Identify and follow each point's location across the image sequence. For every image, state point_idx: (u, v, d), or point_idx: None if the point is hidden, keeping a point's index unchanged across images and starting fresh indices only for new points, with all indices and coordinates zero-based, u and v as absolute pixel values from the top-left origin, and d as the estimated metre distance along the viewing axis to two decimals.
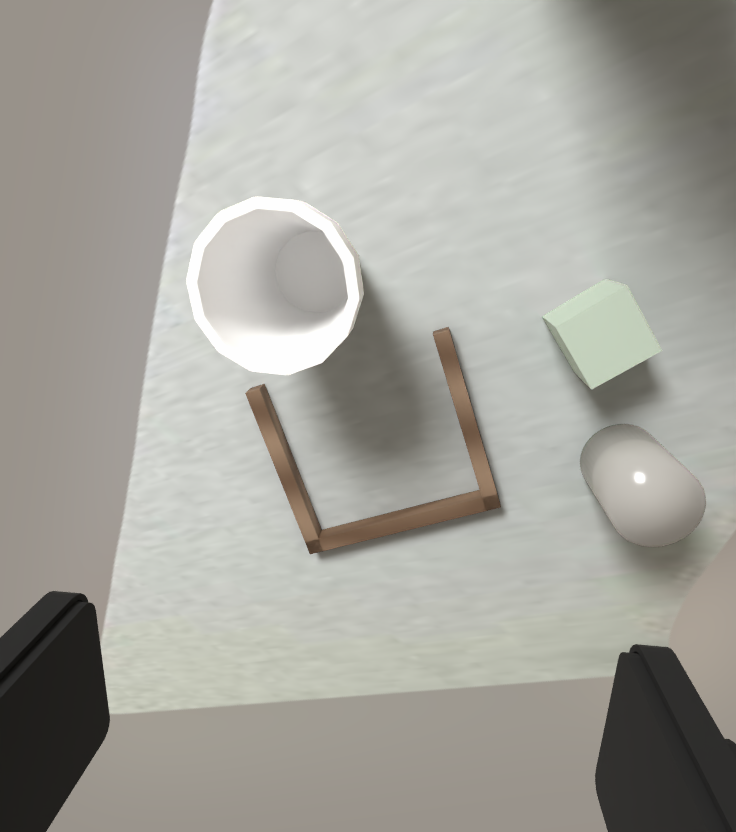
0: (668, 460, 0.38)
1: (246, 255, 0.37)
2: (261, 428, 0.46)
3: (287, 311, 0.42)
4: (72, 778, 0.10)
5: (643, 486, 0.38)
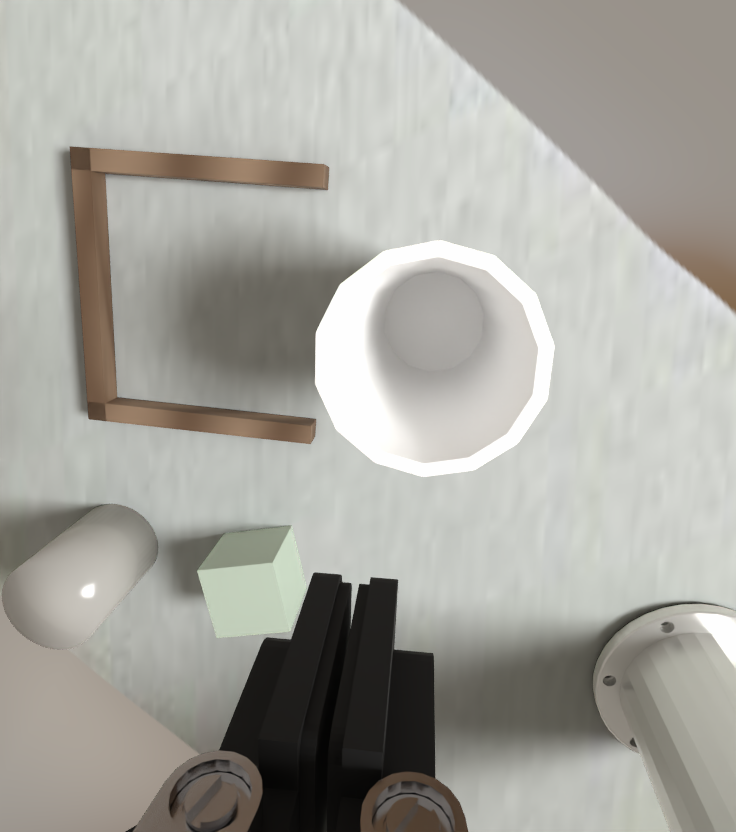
0: (99, 625, 0.36)
1: (488, 292, 0.28)
2: (269, 163, 0.32)
3: (403, 280, 0.32)
4: None
5: (74, 603, 0.35)
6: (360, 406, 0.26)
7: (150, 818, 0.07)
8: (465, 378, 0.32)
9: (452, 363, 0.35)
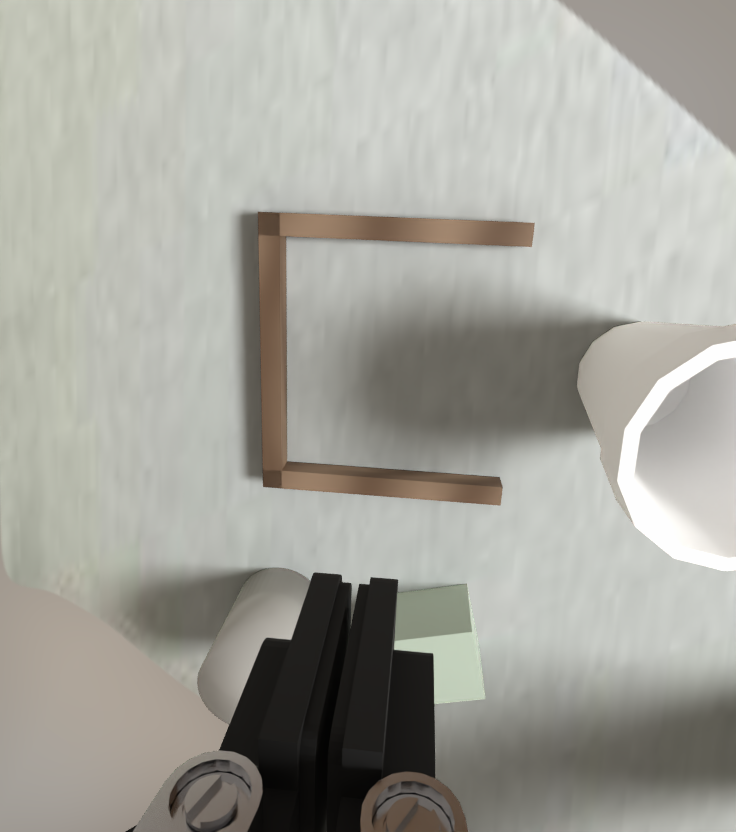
0: None
1: None
2: (474, 223, 0.31)
3: None
4: None
5: None
6: None
7: (150, 818, 0.07)
8: (688, 440, 0.31)
9: (654, 419, 0.34)
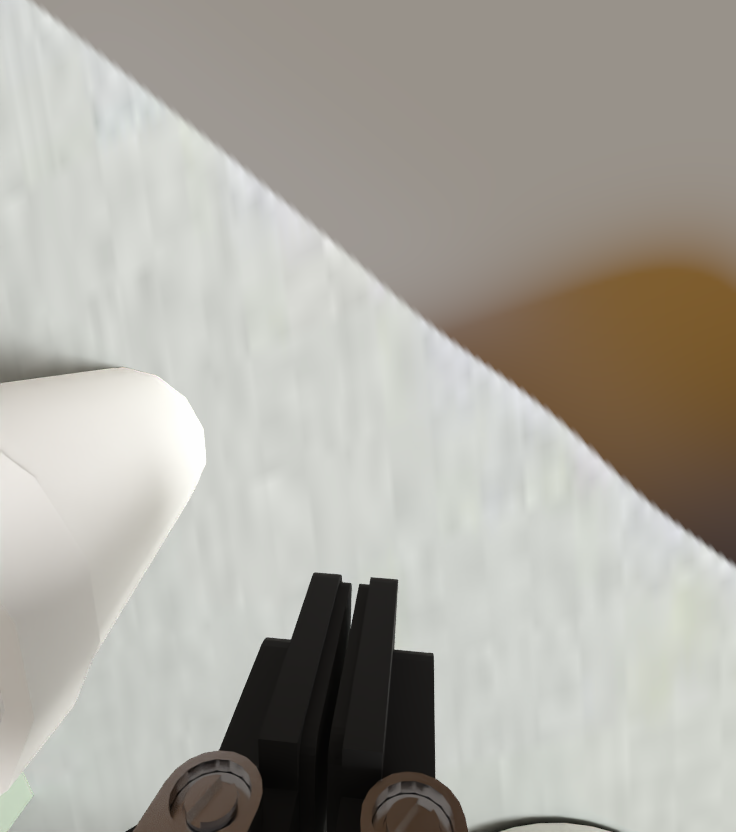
0: None
1: None
2: None
3: None
4: None
5: None
6: None
7: (150, 818, 0.07)
8: None
9: None
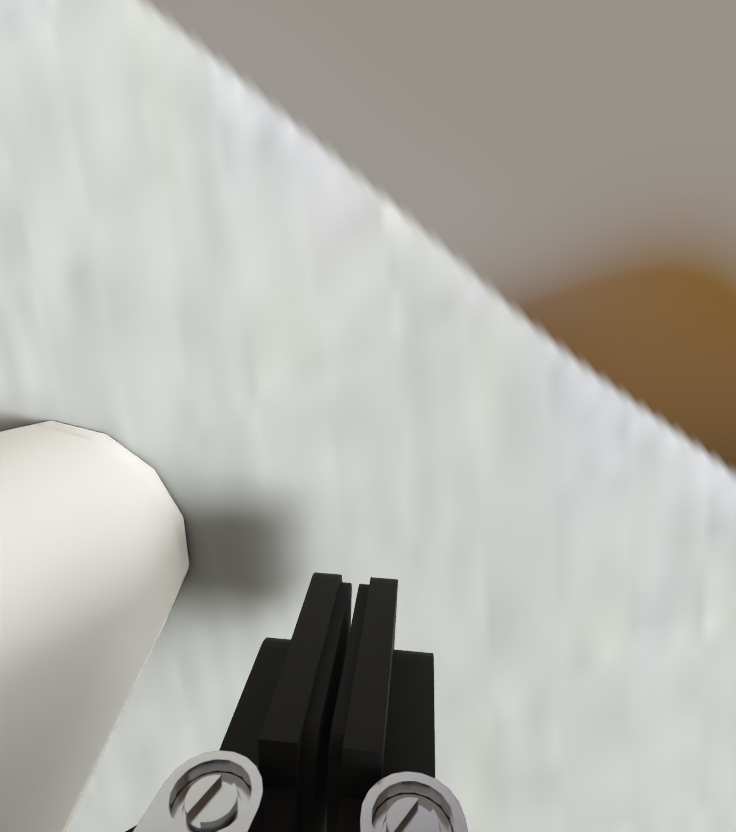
0: None
1: None
2: None
3: None
4: None
5: None
6: None
7: (150, 818, 0.07)
8: None
9: None
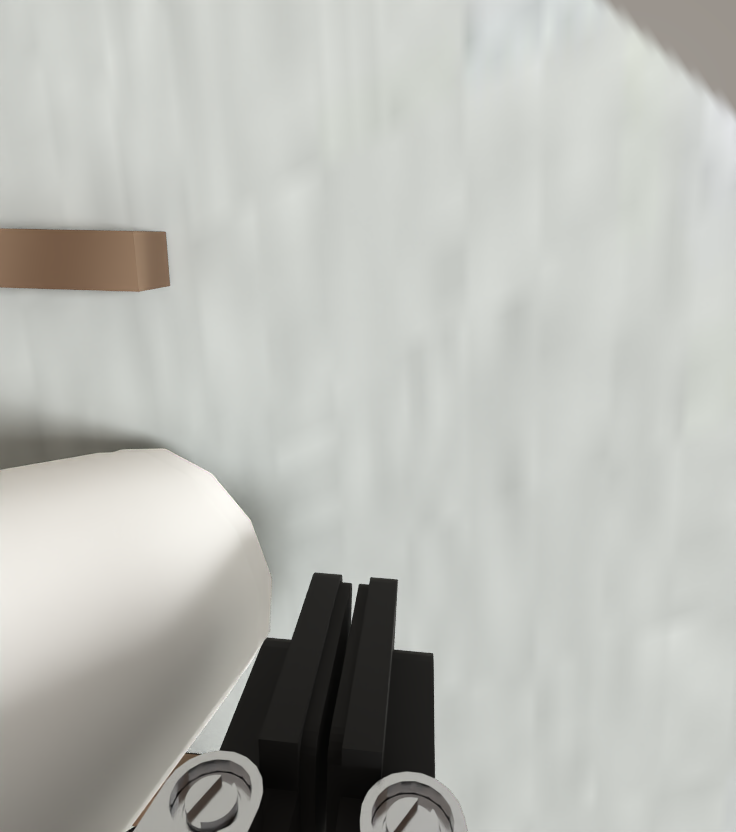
0: None
1: None
2: None
3: None
4: None
5: None
6: None
7: (150, 818, 0.07)
8: None
9: None
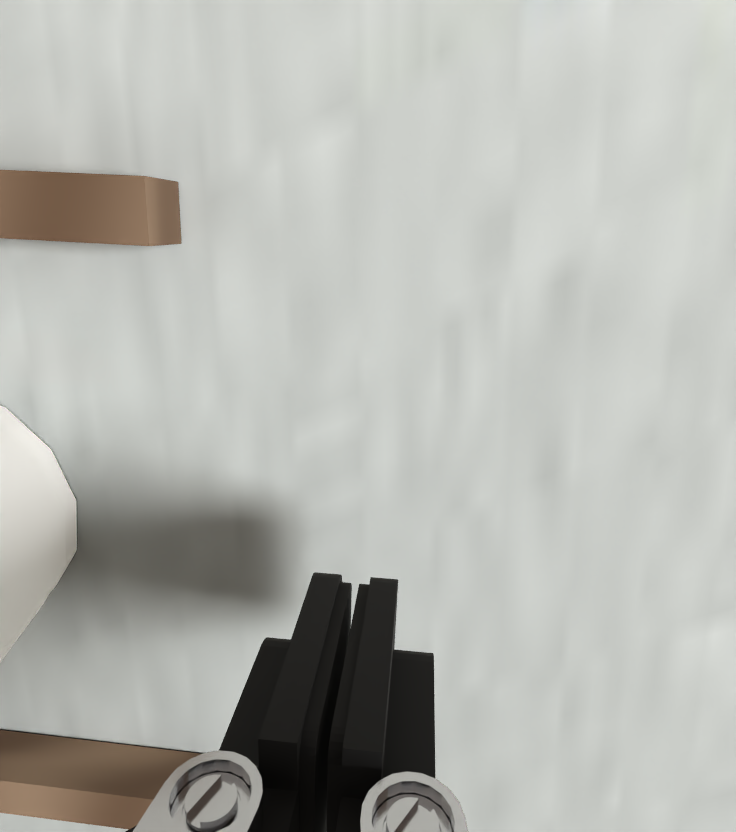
0: None
1: None
2: None
3: None
4: None
5: None
6: None
7: (150, 818, 0.07)
8: None
9: None
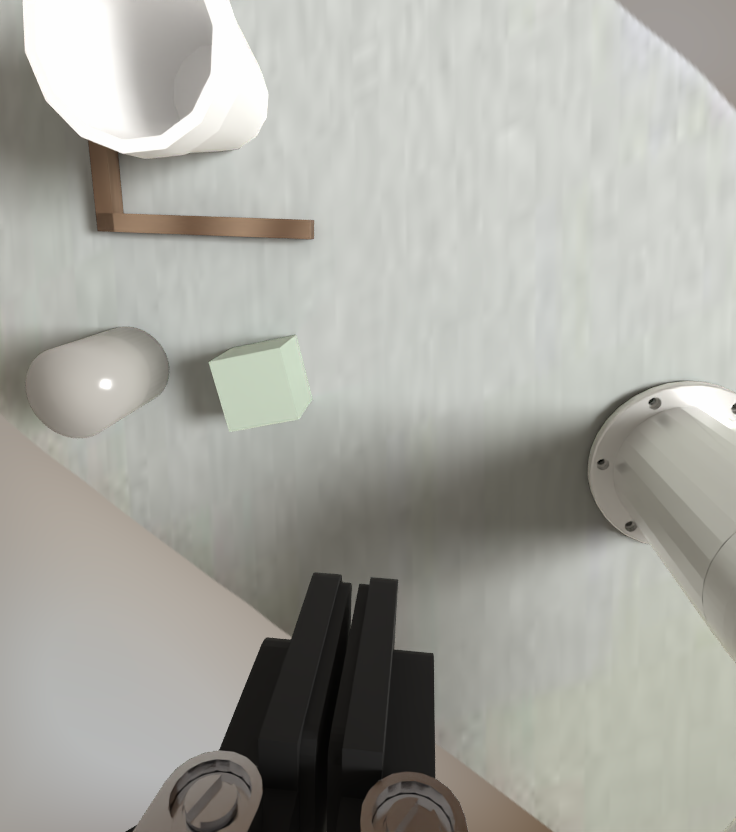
0: (118, 414, 0.38)
1: None
2: None
3: (179, 39, 0.35)
4: None
5: (94, 387, 0.37)
6: (86, 101, 0.29)
7: (150, 818, 0.07)
8: None
9: None
